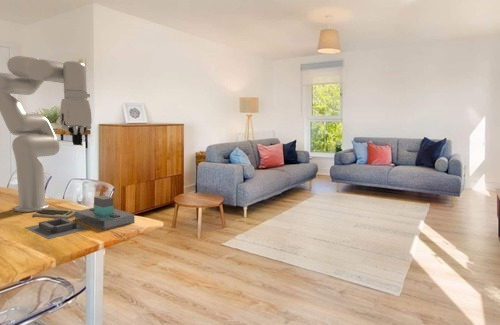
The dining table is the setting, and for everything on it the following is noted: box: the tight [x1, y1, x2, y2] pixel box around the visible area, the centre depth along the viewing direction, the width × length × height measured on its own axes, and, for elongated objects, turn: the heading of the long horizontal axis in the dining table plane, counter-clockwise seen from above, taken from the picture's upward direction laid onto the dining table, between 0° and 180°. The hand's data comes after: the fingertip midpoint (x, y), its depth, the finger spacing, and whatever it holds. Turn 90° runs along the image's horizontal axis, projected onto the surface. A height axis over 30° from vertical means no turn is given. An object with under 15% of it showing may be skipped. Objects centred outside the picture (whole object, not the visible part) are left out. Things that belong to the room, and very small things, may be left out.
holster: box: [24, 217, 92, 240], centre depth 117 cm, size 18×14×3 cm
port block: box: [74, 207, 135, 231], centre depth 127 cm, size 20×12×4 cm, turn 54°
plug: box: [93, 195, 114, 216], centre depth 127 cm, size 6×4×10 cm, turn 55°
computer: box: [31, 207, 80, 220], centre depth 133 cm, size 16×8×3 cm, turn 80°
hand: (77, 144), depth 128 cm, fingers closed
